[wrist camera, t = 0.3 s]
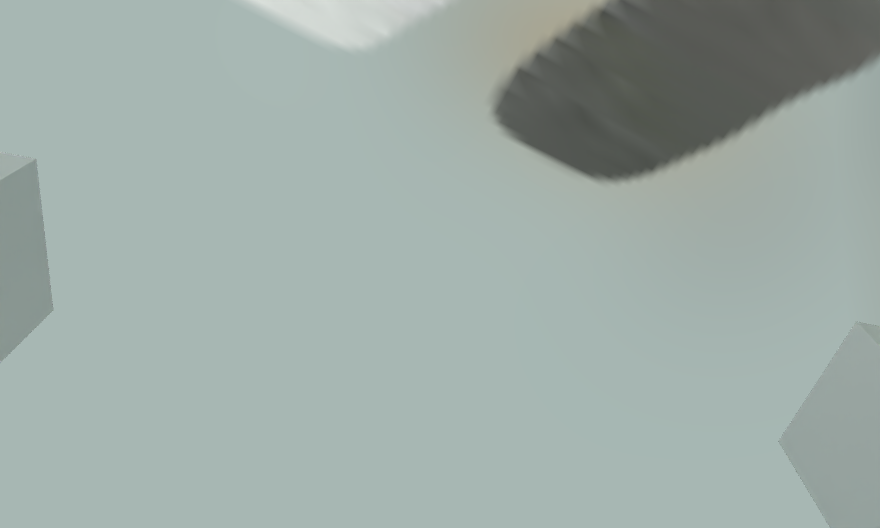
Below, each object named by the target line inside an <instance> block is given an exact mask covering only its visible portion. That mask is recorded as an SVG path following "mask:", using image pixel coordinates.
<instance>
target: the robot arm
mask: <svg viewBox="0 0 880 528" xmlns="http://www.w3.org/2000/svg"><path fill="white" fill-rule="evenodd" d="M52 311H53V304H52V295H51V285H50V276H49V268H48V259H47V251H46V242H45V232H44V224H43V215H42V206H41V197H40V188H39V180H38V171H37V163H36V159H34V158H29V157H24V156H19V155H14V154H9V153H4V152H0V362H1V361H2V360H3V359H4V358H6V357H7V356H8V354H10V352H12V350H14V349H15V348H16V347H17V346H18V345H19V344H20V343H21V342H22V341H23V340H24V338H25V337H27V336H28V335H29V334H30V333H31V332H32V330H34V329H35V328H36V327H37V326H38V325H39V324H40V323H41V322H42V321H43V320H44V319H45V318H46V317H47V316H48V315H49V314H50V313H51V312H52ZM779 443H780V445H781V446H782V448H783V450H784V451H785V453H786V455H787V456H788V458H789V460H790V461H791V463H792V465H793V466H794V468H795V470H796V472H797V473H798V475H799V476H800V478H801V480H802V481H803V483H804V485H805V487H806V488H807V490H808V492H809V493H810V495H811V497H812V498H813V500H814V502H815V503H816V505H817V507H818V508H819V510H820V512H821V513H822V515H823V517H824V518H825V520H826V522H827V523H828V525H829V527H830V528H880V326H876V325H871V324H866V323H861V322H856V323H855V324H854V326H853V327H852V329H851V330H850V332H849V334H848V335H847V337H846V338H845V340H844V341H843V343H842V344H841V346H840V347H839V349H838V351H837V352H836V353H835V355H834V357H833V358H832V360H831V361H830V363H829V364H828V366H827V367H826V369H825V371H824V372H823V374H822V375H821V377H820V378H819V380H818V381H817V383H816V384H815V386H814V388H813V389H812V390H811V392H810V394H809V395H808V397H807V398H806V400H805V401H804V403H803V404H802V406H801V407H800V409H799V410H798V412H797V413H796V415H795V417H794V418H793V420H792V421H791V423H790V424H789V426H788V427H787V429H786V430H785V432H784V434H783V435H782V437H781V438H780V440H779Z"/></svg>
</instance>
